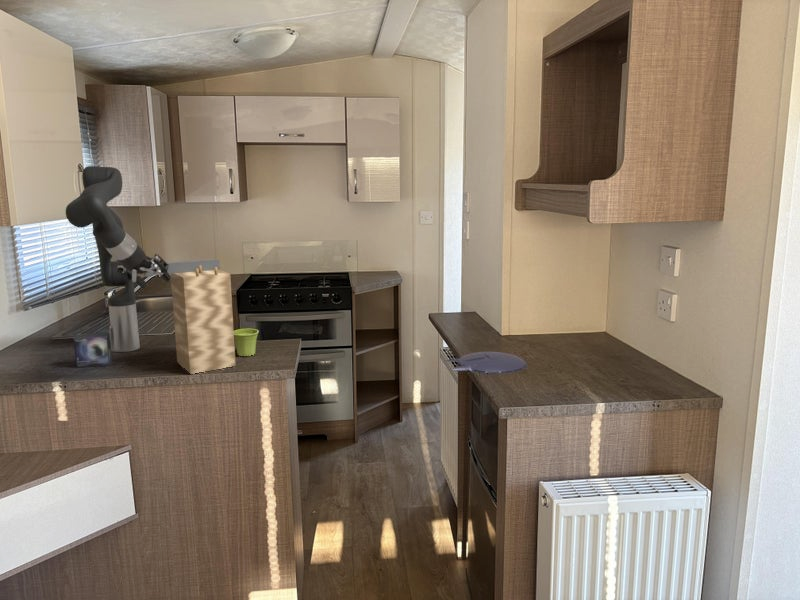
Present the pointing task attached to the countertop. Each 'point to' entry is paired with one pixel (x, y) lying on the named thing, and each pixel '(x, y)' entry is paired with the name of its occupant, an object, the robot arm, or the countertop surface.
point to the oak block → (203, 320)
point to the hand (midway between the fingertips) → (156, 282)
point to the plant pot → (245, 341)
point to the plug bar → (189, 266)
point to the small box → (92, 349)
